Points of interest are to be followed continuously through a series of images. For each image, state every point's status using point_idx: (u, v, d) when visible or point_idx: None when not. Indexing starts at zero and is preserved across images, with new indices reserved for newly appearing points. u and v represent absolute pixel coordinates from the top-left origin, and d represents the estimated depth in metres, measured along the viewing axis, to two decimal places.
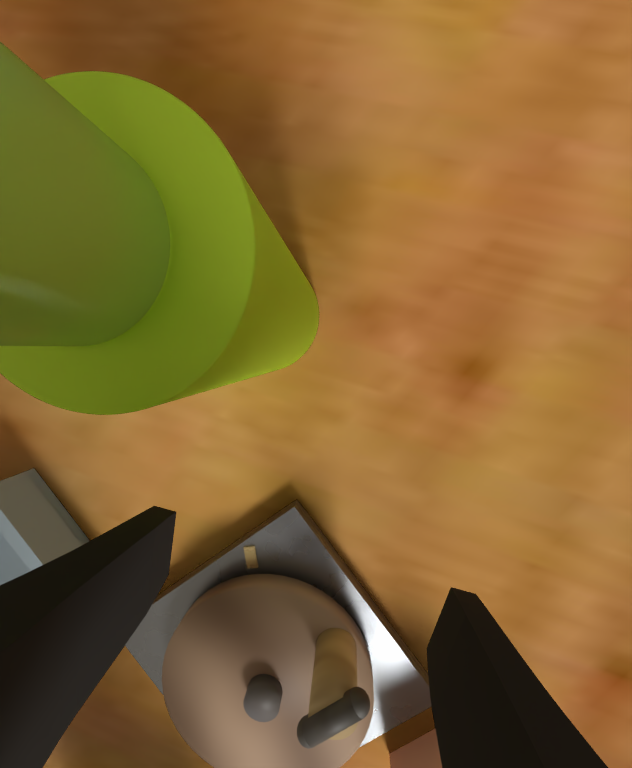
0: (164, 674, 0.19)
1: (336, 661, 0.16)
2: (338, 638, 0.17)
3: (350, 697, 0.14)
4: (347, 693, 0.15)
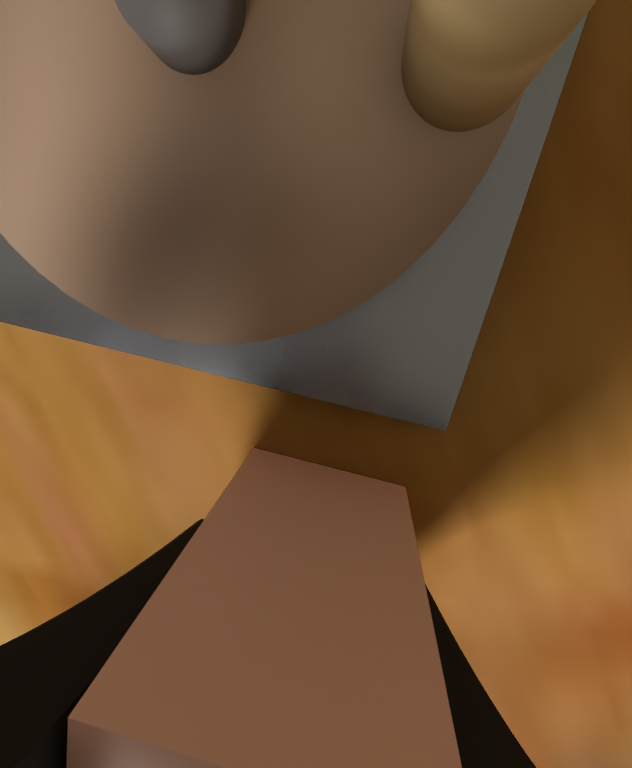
0: None
1: None
2: None
3: None
4: None
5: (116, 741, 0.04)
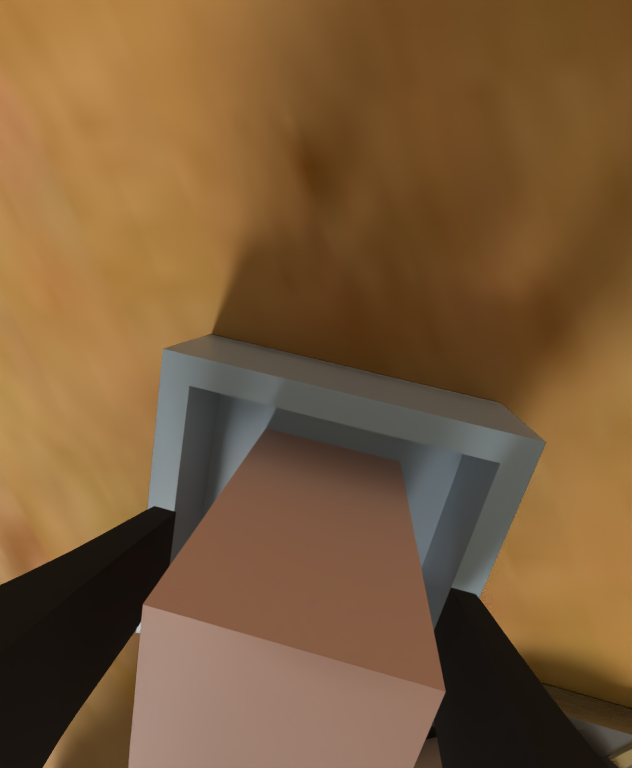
0: None
1: None
2: None
3: None
4: None
5: (179, 621, 0.05)
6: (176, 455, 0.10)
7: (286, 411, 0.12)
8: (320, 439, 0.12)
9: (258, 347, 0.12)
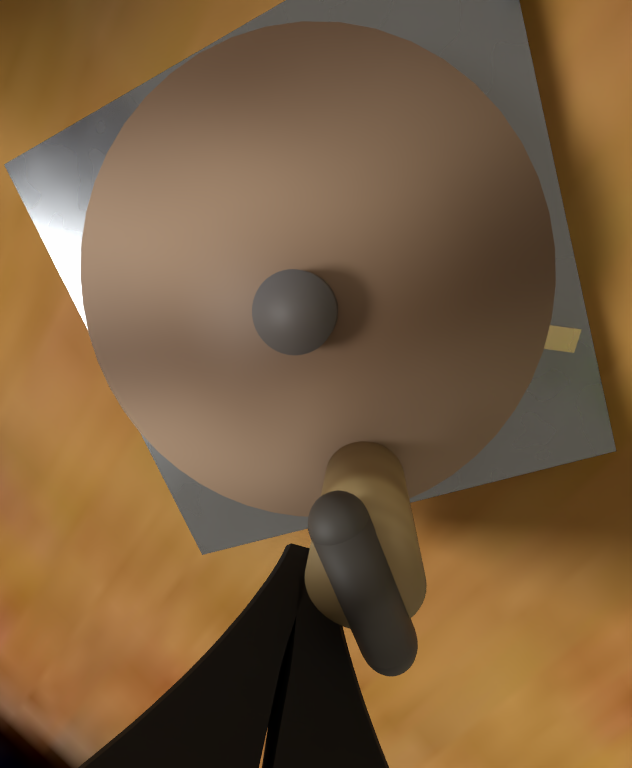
0: (390, 43, 0.07)
1: None
2: None
3: (414, 642, 0.06)
4: None
5: None
6: None
7: None
8: None
9: None
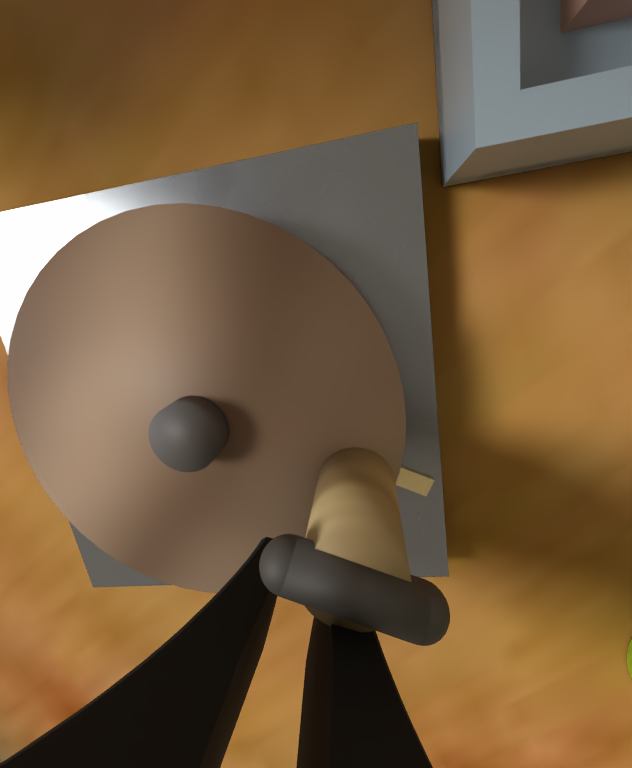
0: (70, 247, 0.09)
1: (396, 511, 0.08)
2: (392, 480, 0.09)
3: (430, 597, 0.06)
4: (412, 580, 0.06)
5: None
6: None
7: None
8: None
9: None
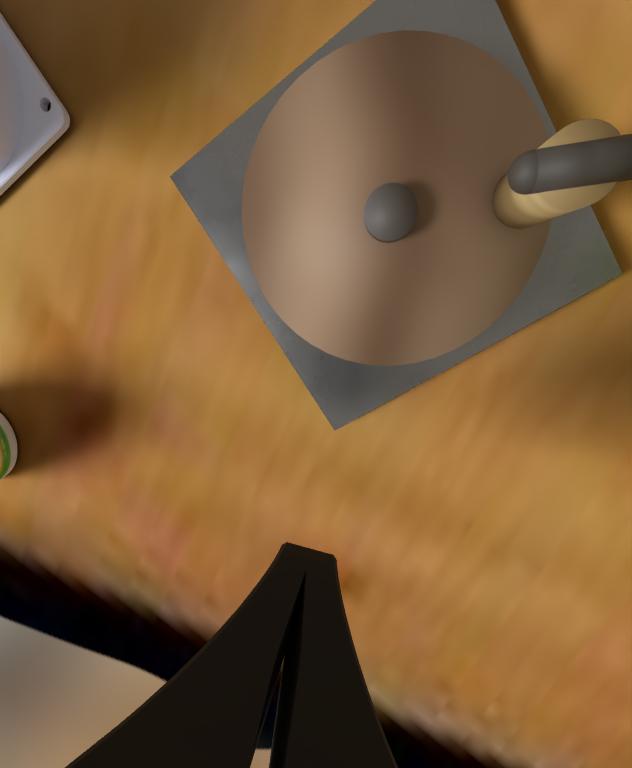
0: (267, 124, 0.13)
1: None
2: None
3: None
4: None
5: None
6: None
7: None
8: None
9: None
